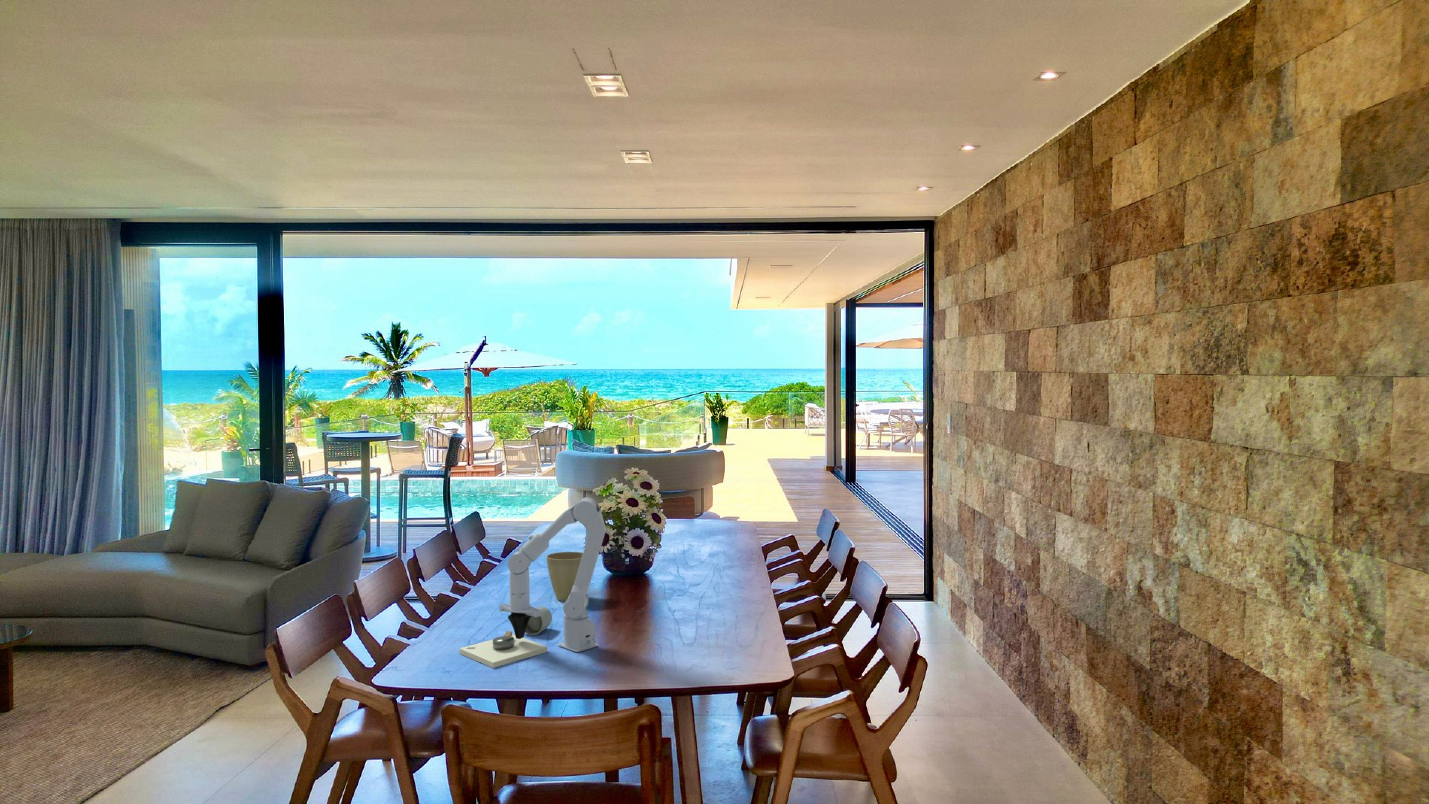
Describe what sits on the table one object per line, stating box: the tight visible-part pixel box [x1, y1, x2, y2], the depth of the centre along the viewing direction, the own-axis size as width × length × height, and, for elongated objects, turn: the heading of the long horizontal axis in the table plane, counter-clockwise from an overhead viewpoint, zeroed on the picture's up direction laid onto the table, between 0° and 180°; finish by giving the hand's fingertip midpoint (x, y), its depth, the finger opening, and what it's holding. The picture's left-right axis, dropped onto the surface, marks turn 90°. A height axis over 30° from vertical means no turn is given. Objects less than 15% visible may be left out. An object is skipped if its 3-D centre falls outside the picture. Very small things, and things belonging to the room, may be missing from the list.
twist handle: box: [492, 630, 514, 650], centre depth 229 cm, size 11×6×2 cm, turn 3°
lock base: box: [458, 633, 548, 669], centre depth 226 cm, size 18×18×2 cm
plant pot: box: [545, 551, 583, 602], centre depth 286 cm, size 15×15×16 cm
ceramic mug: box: [525, 606, 553, 636], centre depth 247 cm, size 11×8×8 cm
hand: (520, 637), depth 232 cm, fingers closed
